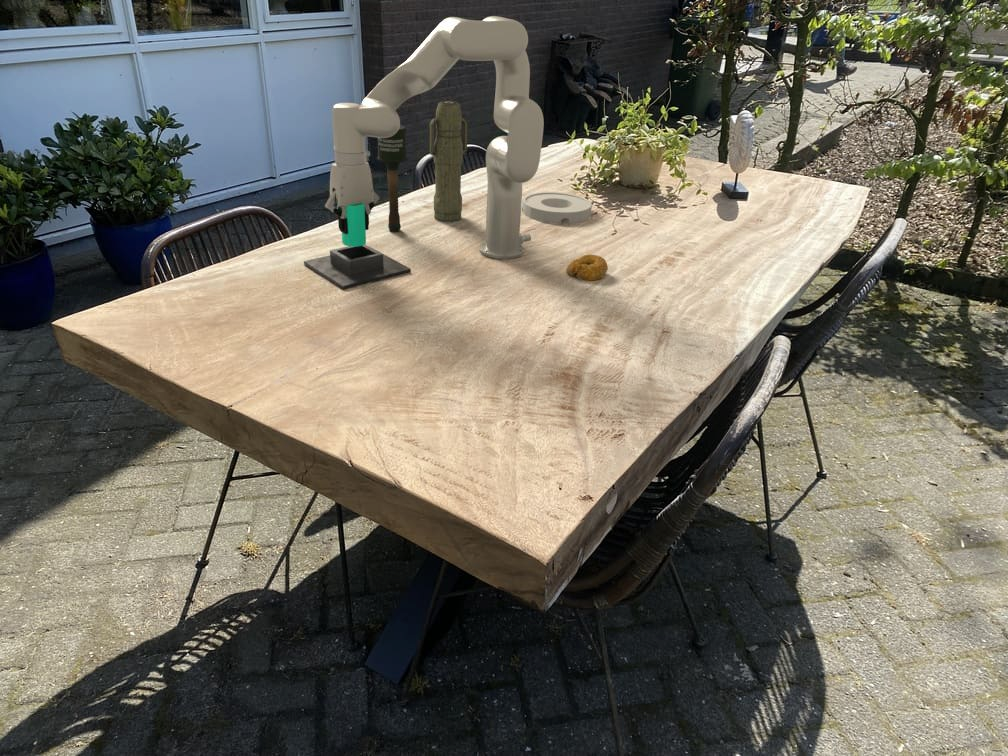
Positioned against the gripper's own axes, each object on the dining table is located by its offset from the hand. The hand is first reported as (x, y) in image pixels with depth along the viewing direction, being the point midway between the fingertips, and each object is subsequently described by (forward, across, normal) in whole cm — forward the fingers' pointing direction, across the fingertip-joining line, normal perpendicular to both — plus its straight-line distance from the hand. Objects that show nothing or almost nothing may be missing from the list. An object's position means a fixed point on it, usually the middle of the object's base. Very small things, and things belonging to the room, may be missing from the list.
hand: (354, 229), depth 179 cm
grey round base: (+10, -80, -6) cm, 81 cm away
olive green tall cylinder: (+10, -46, -21) cm, 52 cm away
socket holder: (+11, 0, 0) cm, 11 cm away
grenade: (+11, -25, -20) cm, 34 cm away
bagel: (+10, -48, +38) cm, 62 cm away
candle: (+4, 0, 0) cm, 4 cm away
